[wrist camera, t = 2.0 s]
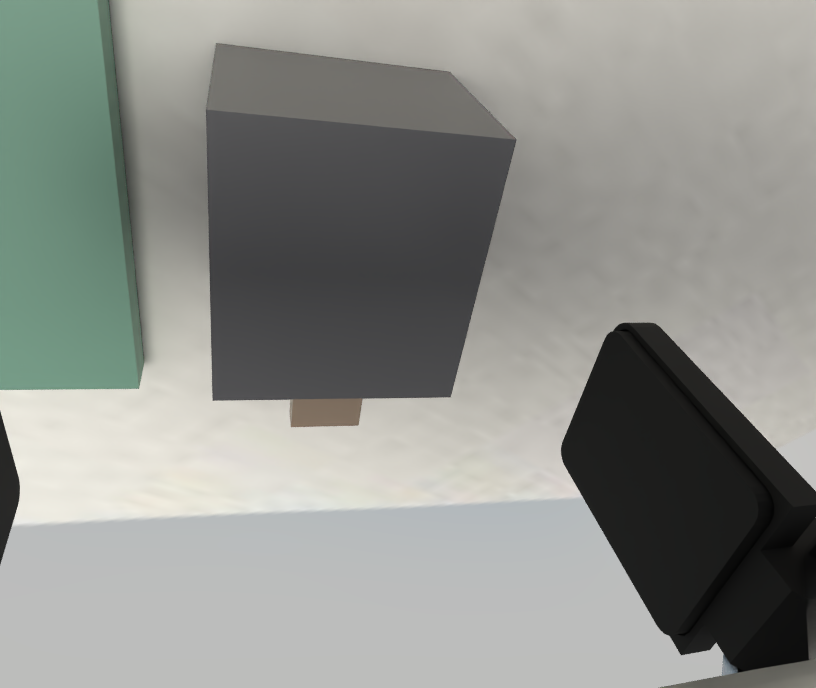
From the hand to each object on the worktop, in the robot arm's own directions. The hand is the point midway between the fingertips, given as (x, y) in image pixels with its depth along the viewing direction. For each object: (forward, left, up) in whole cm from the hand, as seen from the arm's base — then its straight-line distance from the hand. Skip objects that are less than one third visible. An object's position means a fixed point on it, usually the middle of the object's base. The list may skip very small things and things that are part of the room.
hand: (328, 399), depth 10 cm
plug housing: (-1, 0, -9) cm, 9 cm away
